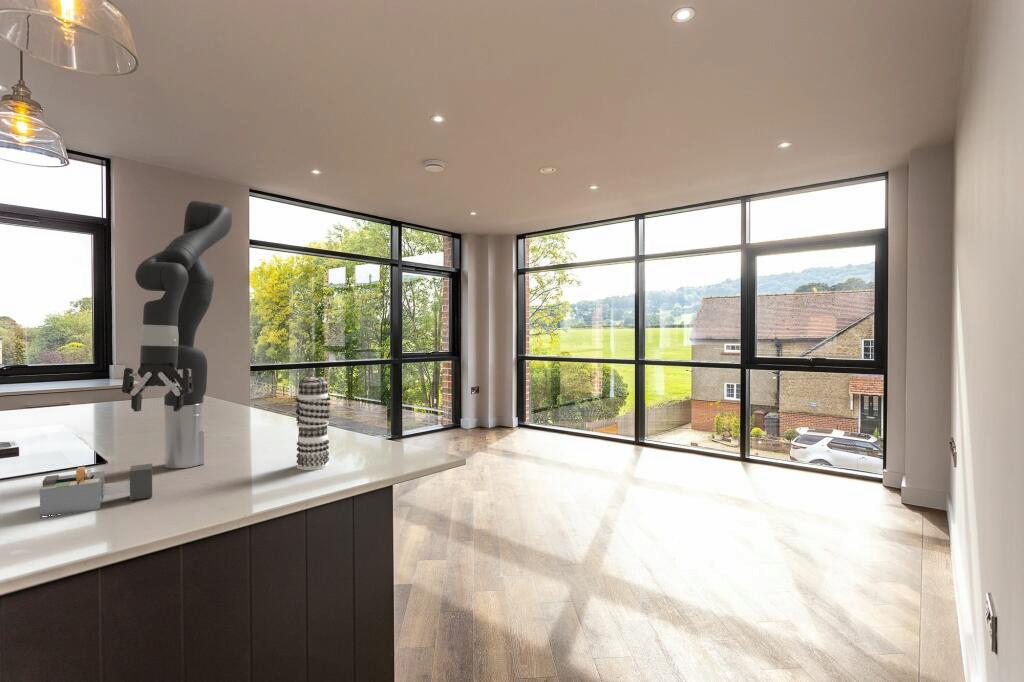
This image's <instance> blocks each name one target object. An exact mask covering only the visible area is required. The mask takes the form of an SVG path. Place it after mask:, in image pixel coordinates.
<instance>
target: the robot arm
mask: <svg viewBox="0 0 1024 682" xmlns="http://www.w3.org/2000/svg"><path fill="white" fill-rule="evenodd" d="M232 216H233V215H232V211H231V209H230V208H229V207H228V206H225V205H223V204H220V203H212V202H206V201H198V200H191V201H190V202H189V203H188V204H187V207H186V209H185V213H184V219H183V220H184V221H183V234H180V235H179V236H177V237H176V238H174V239H172V240H171V242H169V244H168V245H167V246H166V247H165V248H164V250H161V251H160V252H157V253H156V254H153V255H151V256H150V257H148V258H146V259H144V260H143V261H141V263H140V264H138V266H137V268H136V270H135V273H134V274H135V281H136V284H138V285H137V286H139V287H140V288H141V289H144V290H145V291H151V292H164V294H163V295H162V297H160V298H159V299H154V300H148V301H146V302H145V303H144V304H143V311H142V313H143V315H142V328H141V333H140V341H139V342H140V353H139V354H140V356H139V367H138V368H134V367H125V368H124V369H123V377H122V387H121V392H122V393H123V394H128V395H130V396H131V401H130V403H131V404H130V407H131V409H132V410H133V412H136V413H138V412H140V411H142V400H143V395H141V394H142V393H143V392H144V391H145V389H147V388H148V387H156V386H157V387H167V388H168V389H169V391H168V392H167V393H166V394H165V395H164V400H163V402H164V403H163V405H164V412H163V413H164V417H163V418H164V419H163V421H164V422H163V423H164V467H165V468H167V469H184V468H192V467H196V466H199V465H205V429H204V396H205V394H206V392H207V387H208V386H207V385H208V381H207V380H208V359H207V357H206V354H205V353H204V352H203V350H201V349H200V348H197V347H194V343H195V337H196V333H197V329H198V328H199V326H200V324H201V322H202V320H203V318H205V315H206V314H207V313H208V310H209V307H210V306H211V303H212V299H213V293H214V286H215V280H214V277H213V273H212V271H211V270H210V268H209V266H208V264H207V262H206V260H205V258H204V256H203V254H204V253H205V252H206V251H207V250H209V249H210V248H211V247H212V246H215V244H217V243H218V242H220V241H221V240H222V239H223V238H225V237H226V236H227V235H228V234H229V233H230V230H231V229H232V225H233V217H232ZM137 375H139V376H140V378H141V379H140V380H139V381H138V382H137V383H136V385H135V387H134V382H135V378H136V377H137Z"/></svg>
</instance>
